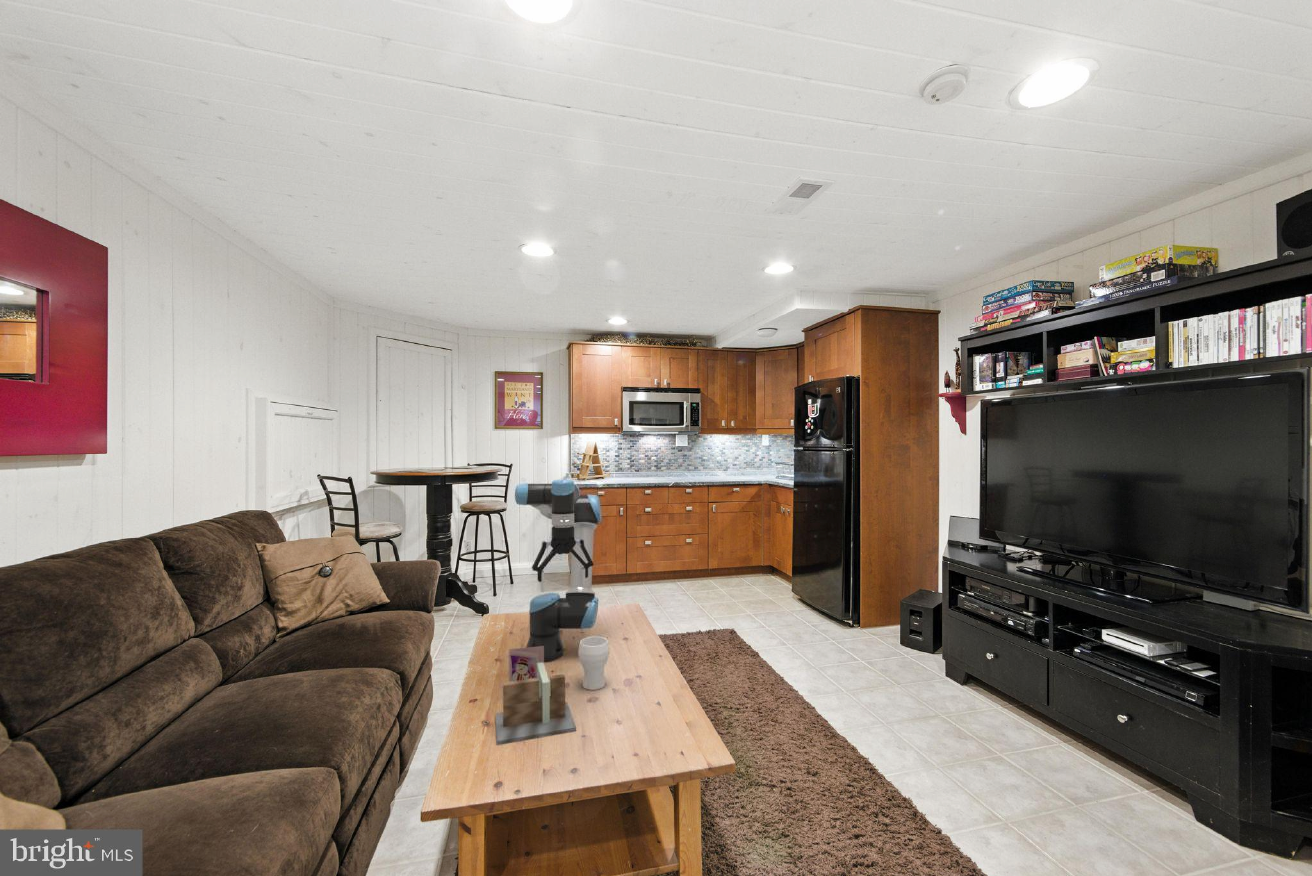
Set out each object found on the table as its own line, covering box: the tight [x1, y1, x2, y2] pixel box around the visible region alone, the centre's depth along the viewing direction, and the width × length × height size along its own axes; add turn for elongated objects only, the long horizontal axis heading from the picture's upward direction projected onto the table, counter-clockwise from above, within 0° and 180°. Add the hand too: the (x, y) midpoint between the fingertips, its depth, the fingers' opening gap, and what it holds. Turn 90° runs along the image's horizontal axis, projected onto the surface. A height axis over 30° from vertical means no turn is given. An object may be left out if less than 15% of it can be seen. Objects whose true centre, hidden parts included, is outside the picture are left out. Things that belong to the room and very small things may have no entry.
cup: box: [577, 635, 610, 691], centre depth 182 cm, size 11×11×15 cm
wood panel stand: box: [494, 673, 577, 745], centre depth 157 cm, size 22×16×13 cm
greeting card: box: [508, 646, 545, 682], centre depth 176 cm, size 11×7×15 cm, turn 70°
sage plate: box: [537, 662, 550, 724], centre depth 163 cm, size 15×2×12 cm, turn 19°
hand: (563, 589), depth 176 cm, fingers open, 13 cm apart
